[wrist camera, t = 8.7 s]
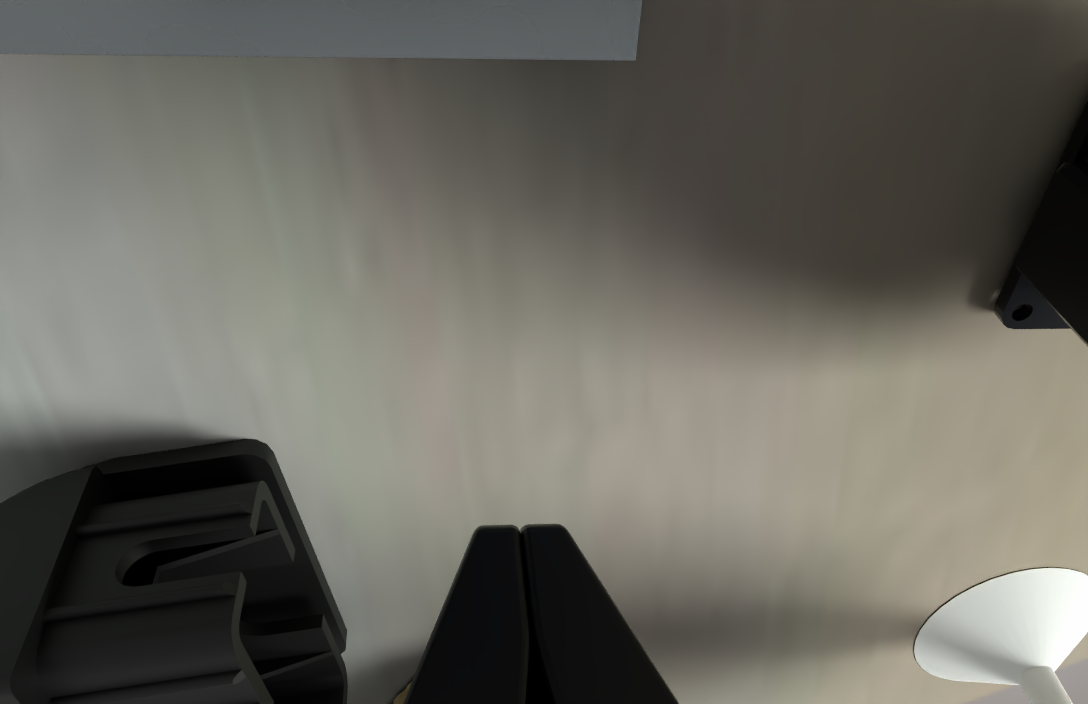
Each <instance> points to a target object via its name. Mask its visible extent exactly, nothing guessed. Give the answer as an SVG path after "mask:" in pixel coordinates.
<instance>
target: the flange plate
mask: <svg viewBox="0 0 1088 704" xmlns="http://www.w3.org/2000/svg"><path fill="white" fill-rule="evenodd" d="M641 9H642V0H0V54H72V55H164V56H256V57H348V58H440V59H532V60H624V61H636V53H637V44H638V35H639V26H640V17H641Z"/></svg>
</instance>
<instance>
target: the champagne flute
mask: <svg viewBox="0 0 1088 704" xmlns="http://www.w3.org/2000/svg"><path fill="white" fill-rule="evenodd" d="M1087 632H1088V575H1086V574H1084V573H1082V572H1078V571H1074V570H1070V569H1062V568H1041V569H1030V570H1025V571H1020V572H1015V573H1010V574H1007V575H1004V576H1001V577H998V578H994V579H991V580H989V581H987V582H984V583H982V584H979V585H977V586H975V587H973V588H971V589H969V590H967V591H965V592H963V593H962V594H960V595H958V596H956V597H955V598H953V599H952V600H951V601H949V602H948V603H946V604H945V605H944V606H942V607H941V608H940V609H939V610H938V611H936V612H935V613H934V614H933V615H932V616H931V617H930V618H929V619H928V620H927V622H926V623H925V624H924V626H923V627H922V628H921V630H920V632H919V634H918V636H917V638H916V640H915V647H914V654H915V658H916V661H917V662H918V664H919V665H920V666H921V668H922V669H924V670H925V671H927V672H928V673H930V674H932V675H934V676H937V677H940V678H943V679H949V680H954V681H967V682H982V683H996V684H1011V685H1020V686H1021V688H1022V689H1023V691H1024V693H1025V695H1026V696H1027V698H1028V700H1029V702H1030V704H1073V703H1072V701H1071V699H1070V698H1069V696H1068V694H1067V693H1066V691H1065V689H1064V688H1063V686H1062V685H1061V683H1060V681H1059V679H1058V678H1057V676H1056V674H1055V673H1054V671H1055V670H1056V669H1057V668H1058V667H1059V665H1060V664H1061V663H1062V662H1063V661H1064V659H1065V658H1066V657H1067V656H1068V655H1069V654H1070V652H1071V651H1072V650H1073V649H1074V648H1075V646H1076V645H1077V644H1078V643H1079V642H1080V640H1081V639H1082V638H1083V637H1084V636H1085V634H1086V633H1087Z"/></svg>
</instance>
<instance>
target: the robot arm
mask: <svg viewBox="0 0 1088 704" xmlns="http://www.w3.org/2000/svg"><path fill="white" fill-rule="evenodd" d="M1020 305H1022V306H1021V307H1020V308H1019V309H1017V310H1015V309H1016V308H1017V307H1019V306H1020ZM1014 310H1015V311H1014ZM994 311H995V314H996V316H997V317H998V318H999V319H1000V321H1001V322H1002V323H1003V324H1004V325H1005V326H1006V327H1008V328H1012V329H1068V328H1071V329H1072V330H1073V331H1074V332H1075V333H1076V334H1077V335H1078V336H1079V338H1080V339H1081V340H1082V341H1083V342H1084V343H1085V344H1086V345H1087V346H1088V101H1087V103H1086V105H1085V107H1084V110H1083V112H1082V114H1081V116H1080V118H1079V121H1078V123H1077V125H1076V127H1075V129H1074V131H1073V134H1072V136H1071V138H1070V140H1069V142H1068V145H1067V147H1066V149H1065V151H1064V153H1063V156H1062V158H1061V160H1060V162H1059V164H1058V167H1057V169H1056V171H1055V173H1054V175H1053V178H1052V180H1051V182H1050V184H1049V186H1048V189H1047V191H1046V193H1045V195H1044V197H1043V200H1042V202H1041V204H1040V206H1039V208H1038V211H1037V213H1036V215H1035V217H1034V219H1033V222H1032V224H1031V226H1030V228H1029V230H1028V233H1027V235H1026V237H1025V239H1024V241H1023V244H1022V246H1021V248H1020V250H1019V252H1018V255H1017V257H1016V259H1015V261H1014V263H1013V266H1012V268H1011V270H1010V272H1009V274H1008V277H1007V279H1006V281H1005V283H1004V285H1003V288H1002V290H1001V292H1000V294H999V296H998V299H997V301H996V303H995V307H994ZM403 704H679V703H678V701H677V700H676V698H675V697H674V695H673V693H672V692H671V690H670V689H669V687H668V686H667V684H666V683H665V681H664V679H663V678H662V676H661V675H660V673H659V672H658V670H657V669H656V667H655V665H654V664H653V662H652V661H651V659H650V658H649V656H648V655H647V653H646V651H645V650H644V648H643V647H642V645H641V644H640V642H639V641H638V639H637V637H636V636H635V634H634V633H633V631H632V630H631V628H630V627H629V625H628V623H627V622H626V620H625V619H624V617H623V616H622V614H621V613H620V611H619V609H618V608H617V606H616V605H615V603H614V602H613V600H612V599H611V597H610V595H609V594H608V592H607V591H606V589H605V588H604V586H603V585H602V583H601V581H600V580H599V578H598V577H597V575H596V574H595V572H594V571H593V569H592V567H591V566H590V564H589V563H588V561H587V560H586V558H585V557H584V555H583V553H582V552H581V550H580V549H579V547H578V546H577V544H576V542H575V541H574V539H573V538H572V536H571V535H570V533H569V532H568V530H567V529H566V528H565V527H564V526H562V525H560V524H528V525H525V526H524V527H522V528H521V530H520V531H519V529H518V528H517V527H516V526H514V525H483V526H479V527H478V528H477V529H476V530H475V531H474V533H473V535H472V537H471V539H470V542H469V544H468V547H467V549H466V552H465V554H464V556H463V559H462V561H461V564H460V566H459V569H458V571H457V573H456V576H455V578H454V581H453V583H452V586H451V588H450V590H449V593H448V595H447V598H446V600H445V603H444V605H443V607H442V610H441V612H440V615H439V617H438V620H437V622H436V624H435V627H434V629H433V632H432V634H431V637H430V639H429V641H428V644H427V646H426V649H425V651H424V654H423V656H422V658H421V661H420V663H419V666H418V668H417V671H416V673H415V675H414V678H413V680H412V683H411V685H410V688H409V690H408V692H407V695H406V697H405V700H404V702H403Z"/></svg>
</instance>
